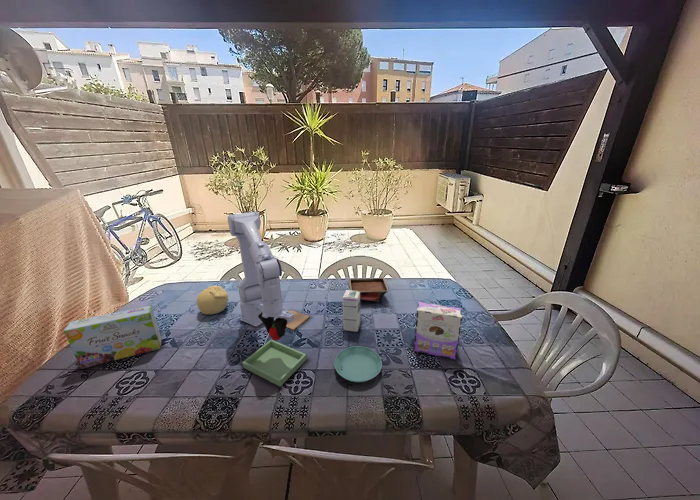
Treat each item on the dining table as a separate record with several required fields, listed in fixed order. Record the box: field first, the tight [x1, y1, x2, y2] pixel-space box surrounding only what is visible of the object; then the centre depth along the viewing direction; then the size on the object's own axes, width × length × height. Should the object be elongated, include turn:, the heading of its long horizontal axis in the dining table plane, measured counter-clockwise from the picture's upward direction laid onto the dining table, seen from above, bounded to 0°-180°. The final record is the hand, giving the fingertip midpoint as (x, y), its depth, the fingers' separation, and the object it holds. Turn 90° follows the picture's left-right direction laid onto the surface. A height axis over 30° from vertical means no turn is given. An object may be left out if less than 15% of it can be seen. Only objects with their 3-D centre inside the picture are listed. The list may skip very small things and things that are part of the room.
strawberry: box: [268, 324, 281, 341], centre depth 87 cm, size 4×4×5 cm
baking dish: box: [347, 277, 390, 304], centre depth 124 cm, size 14×18×10 cm
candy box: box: [412, 301, 463, 360], centre depth 90 cm, size 14×6×16 cm, turn 71°
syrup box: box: [341, 289, 361, 333], centre depth 102 cm, size 6×6×14 cm
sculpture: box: [196, 285, 229, 316], centre depth 114 cm, size 12×12×11 cm
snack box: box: [63, 305, 163, 370], centre depth 88 cm, size 21×6×15 cm, turn 117°
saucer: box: [333, 345, 383, 384], centre depth 84 cm, size 15×15×3 cm
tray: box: [241, 339, 307, 388], centre depth 86 cm, size 15×12×2 cm
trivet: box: [286, 309, 311, 331], centre depth 109 cm, size 10×10×1 cm
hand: (276, 333), depth 87 cm, fingers closed on strawberry, 4 cm apart
